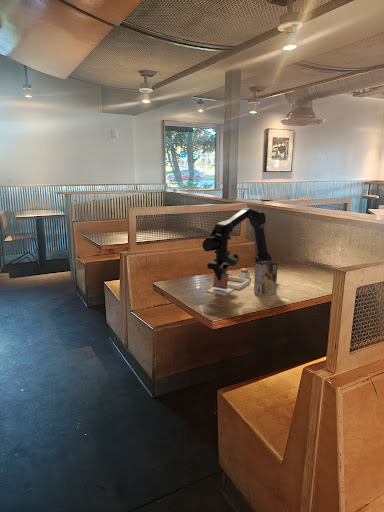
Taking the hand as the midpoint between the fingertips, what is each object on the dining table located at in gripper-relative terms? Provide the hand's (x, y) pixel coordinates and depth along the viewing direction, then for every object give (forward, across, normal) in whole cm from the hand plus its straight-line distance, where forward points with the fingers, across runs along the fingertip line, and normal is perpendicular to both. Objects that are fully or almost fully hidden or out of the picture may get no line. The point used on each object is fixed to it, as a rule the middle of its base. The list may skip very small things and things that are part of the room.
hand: (220, 279), depth 181 cm
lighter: (+4, -1, 0) cm, 4 cm away
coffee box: (+6, +9, -20) cm, 23 cm away
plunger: (+5, +26, -1) cm, 26 cm away
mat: (+6, 0, 0) cm, 6 cm away
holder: (+6, +18, 0) cm, 19 cm away
